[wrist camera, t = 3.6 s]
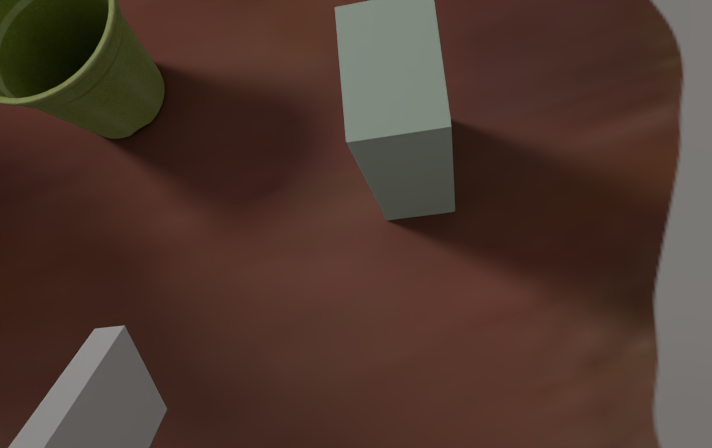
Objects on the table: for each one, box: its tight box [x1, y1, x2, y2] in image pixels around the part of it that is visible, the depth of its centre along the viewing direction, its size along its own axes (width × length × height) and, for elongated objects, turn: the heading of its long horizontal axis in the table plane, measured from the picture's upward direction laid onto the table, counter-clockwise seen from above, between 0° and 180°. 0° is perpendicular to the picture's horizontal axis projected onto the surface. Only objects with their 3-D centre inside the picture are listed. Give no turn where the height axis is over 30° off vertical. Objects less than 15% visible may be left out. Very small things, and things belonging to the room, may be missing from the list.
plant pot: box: [0, 0, 165, 139], centre depth 34 cm, size 9×9×9 cm
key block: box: [335, 0, 455, 220], centre depth 28 cm, size 4×6×12 cm, turn 5°
